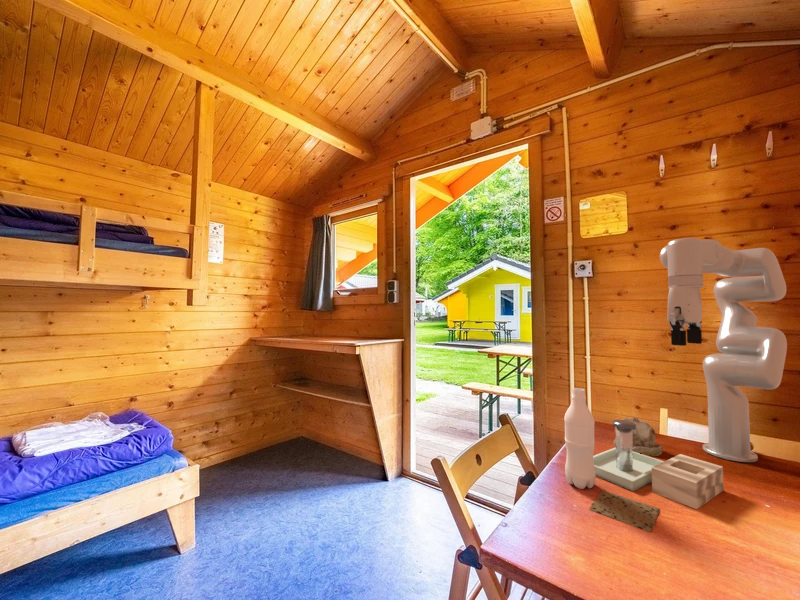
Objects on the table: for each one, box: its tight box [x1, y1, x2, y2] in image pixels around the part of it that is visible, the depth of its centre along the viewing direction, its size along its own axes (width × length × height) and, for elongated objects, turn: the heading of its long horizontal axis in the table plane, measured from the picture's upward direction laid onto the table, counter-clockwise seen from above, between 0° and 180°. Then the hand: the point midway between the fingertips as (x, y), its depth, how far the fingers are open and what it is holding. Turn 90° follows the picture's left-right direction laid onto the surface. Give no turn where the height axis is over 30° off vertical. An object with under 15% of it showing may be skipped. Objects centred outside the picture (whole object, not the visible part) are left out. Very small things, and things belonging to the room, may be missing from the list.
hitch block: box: [651, 453, 724, 510], centre depth 87 cm, size 16×9×6 cm, turn 120°
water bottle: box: [563, 387, 597, 490], centre depth 91 cm, size 7×7×25 cm
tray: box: [593, 446, 665, 492], centre depth 98 cm, size 20×14×2 cm
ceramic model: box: [613, 416, 664, 457], centre depth 115 cm, size 14×11×10 cm
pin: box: [612, 419, 636, 472], centre depth 98 cm, size 6×6×13 cm
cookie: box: [588, 490, 661, 533], centre depth 80 cm, size 12×12×1 cm
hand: (686, 344), depth 96 cm, fingers open, 9 cm apart
